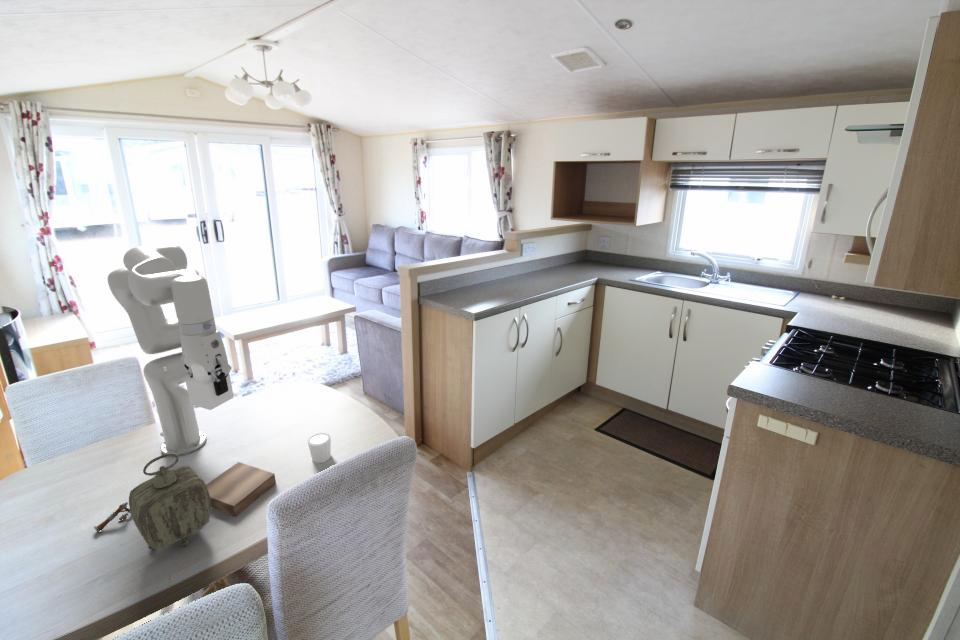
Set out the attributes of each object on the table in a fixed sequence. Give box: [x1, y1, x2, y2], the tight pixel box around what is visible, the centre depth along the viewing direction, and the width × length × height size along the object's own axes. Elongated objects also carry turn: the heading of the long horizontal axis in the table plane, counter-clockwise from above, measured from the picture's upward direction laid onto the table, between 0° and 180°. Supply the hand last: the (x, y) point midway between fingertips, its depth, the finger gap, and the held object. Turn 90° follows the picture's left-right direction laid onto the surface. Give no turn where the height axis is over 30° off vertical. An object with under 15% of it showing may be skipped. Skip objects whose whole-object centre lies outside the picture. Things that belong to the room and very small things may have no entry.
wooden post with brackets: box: [93, 501, 131, 533], centre depth 116 cm, size 2×8×4 cm, turn 145°
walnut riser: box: [205, 461, 277, 517], centre depth 127 cm, size 14×14×4 cm
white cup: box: [307, 432, 332, 464], centre depth 142 cm, size 7×7×7 cm
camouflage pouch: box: [128, 454, 212, 550], centre depth 107 cm, size 14×9×25 cm, turn 140°
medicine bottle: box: [185, 363, 234, 411], centre depth 114 cm, size 7×7×12 cm
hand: (210, 389), depth 115 cm, fingers closed on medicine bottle, 7 cm apart
